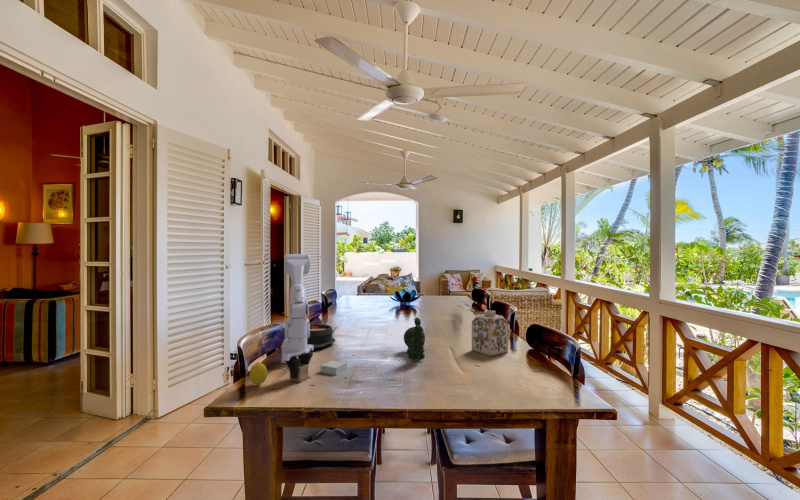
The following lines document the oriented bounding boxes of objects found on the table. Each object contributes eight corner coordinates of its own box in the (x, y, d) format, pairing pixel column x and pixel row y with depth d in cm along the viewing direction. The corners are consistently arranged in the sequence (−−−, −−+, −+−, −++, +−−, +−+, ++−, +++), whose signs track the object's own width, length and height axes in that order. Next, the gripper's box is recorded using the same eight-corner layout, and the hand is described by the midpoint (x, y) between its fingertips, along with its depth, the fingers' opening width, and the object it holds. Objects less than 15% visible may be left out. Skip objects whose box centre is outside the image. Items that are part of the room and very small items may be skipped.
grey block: (320, 373, 145) (320, 365, 145) (331, 368, 151) (331, 360, 151) (336, 376, 142) (336, 367, 142) (346, 370, 148) (346, 362, 148)
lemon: (250, 389, 128) (250, 365, 127) (248, 384, 132) (248, 361, 132) (268, 387, 130) (268, 363, 130) (265, 381, 135) (265, 358, 135)
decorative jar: (509, 352, 171) (509, 311, 171) (490, 356, 165) (490, 314, 165) (488, 346, 181) (488, 308, 181) (470, 350, 175) (470, 310, 174)
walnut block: (289, 380, 136) (289, 366, 136) (297, 376, 140) (297, 362, 140) (300, 382, 134) (300, 368, 134) (308, 378, 138) (308, 364, 138)
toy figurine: (430, 367, 156) (422, 345, 180) (430, 321, 154) (423, 305, 178) (406, 368, 155) (402, 346, 180) (406, 321, 153) (402, 306, 178)
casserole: (303, 338, 197) (303, 321, 197) (340, 338, 197) (340, 322, 197) (287, 352, 172) (287, 333, 172) (329, 352, 172) (329, 333, 172)
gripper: (294, 343, 128) (295, 383, 129) (320, 333, 142) (320, 370, 142) (277, 340, 131) (278, 381, 131) (304, 331, 145) (304, 368, 145)
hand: (299, 375), depth 137 cm, fingers closed on walnut block, 4 cm apart
